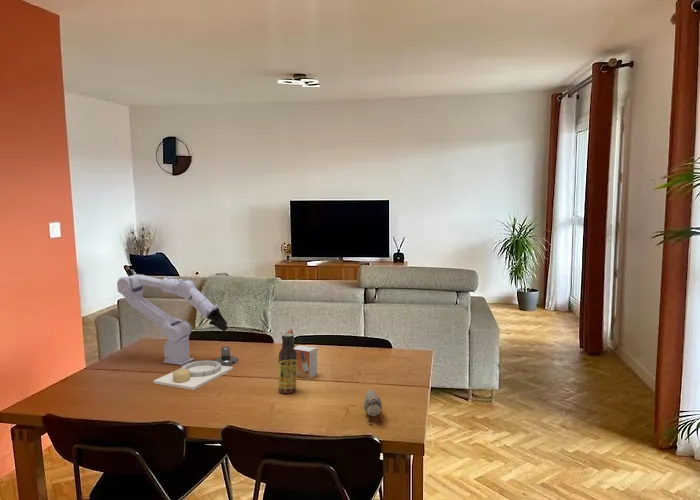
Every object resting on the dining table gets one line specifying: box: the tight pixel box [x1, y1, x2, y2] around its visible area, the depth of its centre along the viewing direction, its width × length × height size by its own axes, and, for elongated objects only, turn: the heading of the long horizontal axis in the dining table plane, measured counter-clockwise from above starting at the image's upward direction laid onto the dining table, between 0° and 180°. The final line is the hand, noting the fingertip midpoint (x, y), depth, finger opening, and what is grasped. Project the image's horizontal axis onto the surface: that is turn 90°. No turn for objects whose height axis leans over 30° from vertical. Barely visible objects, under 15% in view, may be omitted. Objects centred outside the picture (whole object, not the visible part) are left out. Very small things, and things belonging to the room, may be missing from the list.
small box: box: [294, 344, 318, 380], centre depth 199 cm, size 8×6×10 cm
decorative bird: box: [363, 389, 383, 425], centre depth 164 cm, size 5×16×8 cm, turn 2°
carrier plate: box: [152, 359, 234, 391], centre depth 200 cm, size 18×23×4 cm
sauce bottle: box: [277, 332, 298, 394], centre depth 183 cm, size 6×6×20 cm
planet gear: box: [213, 345, 239, 367], centre depth 216 cm, size 10×10×6 cm
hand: (225, 327), depth 211 cm, fingers open, 7 cm apart
